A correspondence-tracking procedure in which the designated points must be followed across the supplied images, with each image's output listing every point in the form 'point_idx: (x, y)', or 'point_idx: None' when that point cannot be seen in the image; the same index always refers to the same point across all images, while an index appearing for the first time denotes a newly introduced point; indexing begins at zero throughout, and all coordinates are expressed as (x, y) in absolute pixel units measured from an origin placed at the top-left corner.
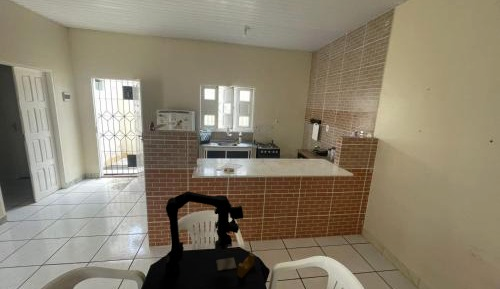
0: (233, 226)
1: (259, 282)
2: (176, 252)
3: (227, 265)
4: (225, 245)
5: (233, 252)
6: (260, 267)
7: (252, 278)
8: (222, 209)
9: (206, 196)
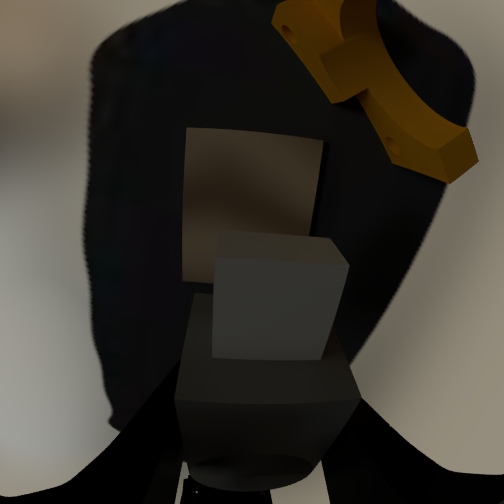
0: None
1: (469, 68)
2: None
3: (275, 209)
4: (379, 417)
5: (110, 114)
6: None
7: (439, 82)
8: None
9: None
